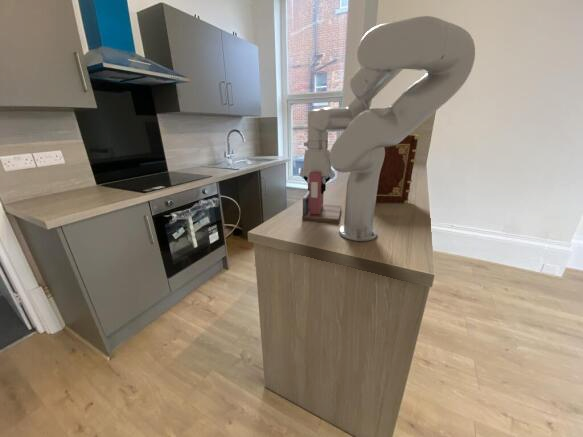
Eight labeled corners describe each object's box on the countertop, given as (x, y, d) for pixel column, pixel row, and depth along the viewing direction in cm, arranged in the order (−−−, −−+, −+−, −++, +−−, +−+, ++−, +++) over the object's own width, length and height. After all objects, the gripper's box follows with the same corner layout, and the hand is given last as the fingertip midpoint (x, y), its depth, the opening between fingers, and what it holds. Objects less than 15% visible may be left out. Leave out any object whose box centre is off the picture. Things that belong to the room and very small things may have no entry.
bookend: (305, 215, 94) (305, 198, 92) (302, 215, 95) (302, 198, 92) (311, 204, 107) (312, 189, 104) (309, 204, 107) (309, 189, 105)
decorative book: (404, 198, 119) (415, 134, 108) (410, 203, 112) (422, 135, 101) (358, 198, 121) (363, 135, 110) (360, 203, 114) (367, 136, 103)
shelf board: (338, 223, 91) (338, 219, 91) (302, 221, 95) (302, 216, 94) (341, 209, 106) (341, 205, 105) (309, 207, 109) (309, 203, 108)
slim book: (319, 214, 94) (319, 174, 88) (309, 213, 95) (309, 174, 89) (323, 203, 105) (324, 166, 98) (314, 202, 106) (314, 166, 99)
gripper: (293, 146, 89) (294, 194, 96) (339, 146, 85) (337, 196, 92) (297, 144, 96) (298, 189, 103) (340, 144, 92) (338, 191, 99)
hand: (316, 192), depth 97 cm, fingers open, 4 cm apart
